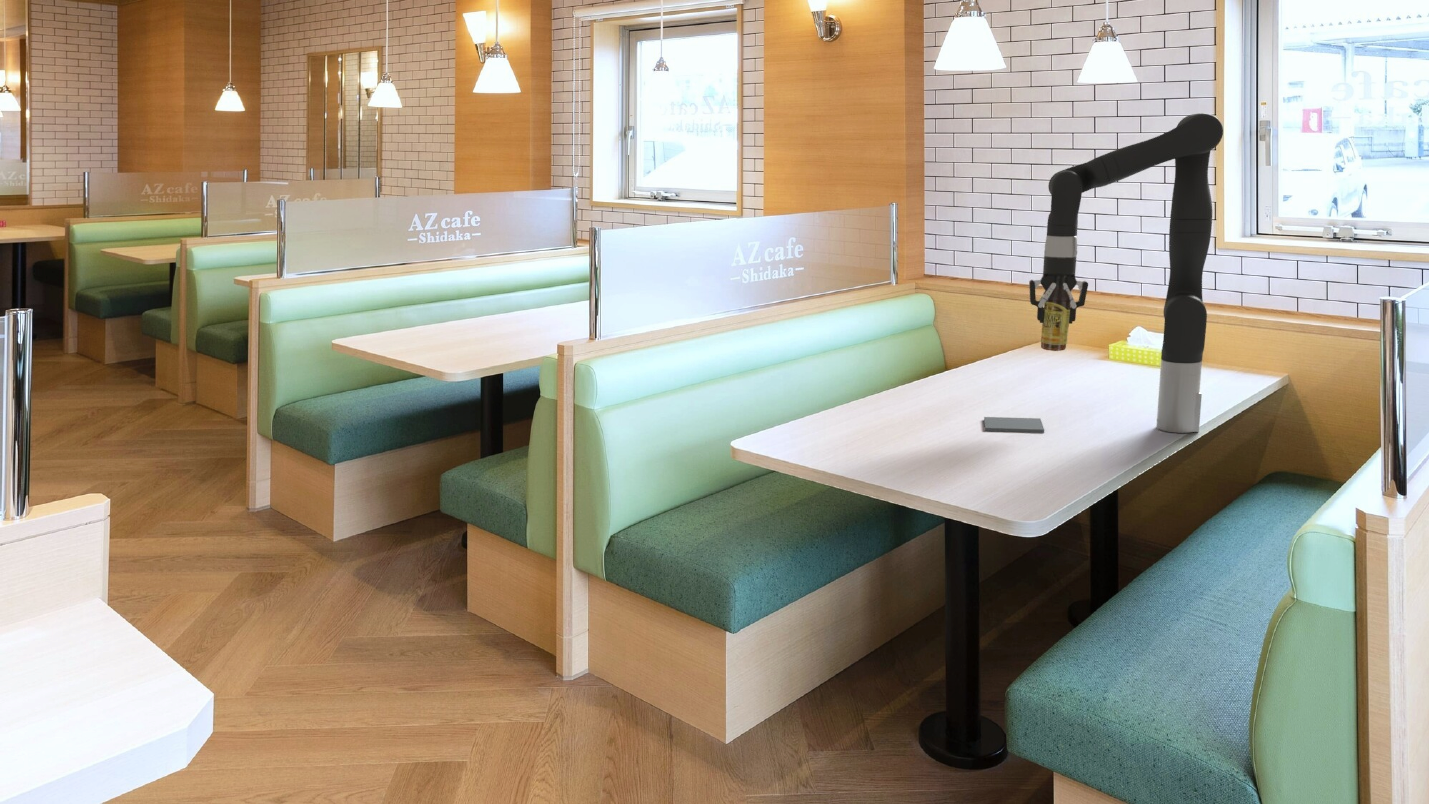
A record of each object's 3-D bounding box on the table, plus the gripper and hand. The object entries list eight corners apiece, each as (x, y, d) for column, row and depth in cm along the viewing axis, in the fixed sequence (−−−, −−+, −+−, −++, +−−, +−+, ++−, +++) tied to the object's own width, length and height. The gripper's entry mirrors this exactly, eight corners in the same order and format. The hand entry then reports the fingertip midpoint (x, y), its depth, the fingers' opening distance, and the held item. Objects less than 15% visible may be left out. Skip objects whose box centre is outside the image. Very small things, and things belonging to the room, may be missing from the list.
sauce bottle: (1035, 349, 271) (1040, 268, 267) (1050, 346, 275) (1055, 267, 271) (1057, 352, 266) (1062, 271, 262) (1073, 350, 270) (1078, 269, 266)
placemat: (1040, 421, 280) (1040, 418, 280) (1044, 432, 269) (1044, 429, 269) (984, 419, 283) (984, 416, 283) (985, 431, 272) (985, 427, 272)
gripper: (1089, 253, 268) (1084, 321, 271) (1028, 252, 271) (1024, 319, 274) (1093, 256, 260) (1088, 326, 264) (1030, 255, 263) (1026, 324, 267)
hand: (1055, 322), depth 269 cm, fingers closed on sauce bottle, 6 cm apart
